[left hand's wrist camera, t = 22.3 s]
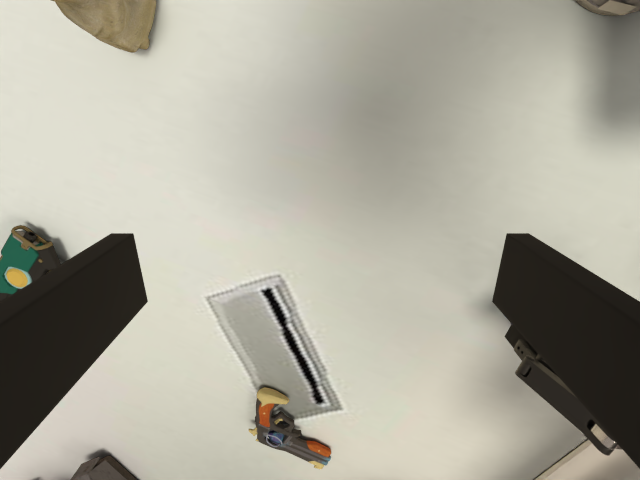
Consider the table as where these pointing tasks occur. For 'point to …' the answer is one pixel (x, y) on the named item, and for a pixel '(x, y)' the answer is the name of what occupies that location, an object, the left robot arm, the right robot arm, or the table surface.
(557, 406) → the right robot arm
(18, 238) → the spray gun
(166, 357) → the table surface
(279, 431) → the toy gun
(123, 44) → the sculpture
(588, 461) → the tablet stand
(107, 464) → the toy
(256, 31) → the table surface
